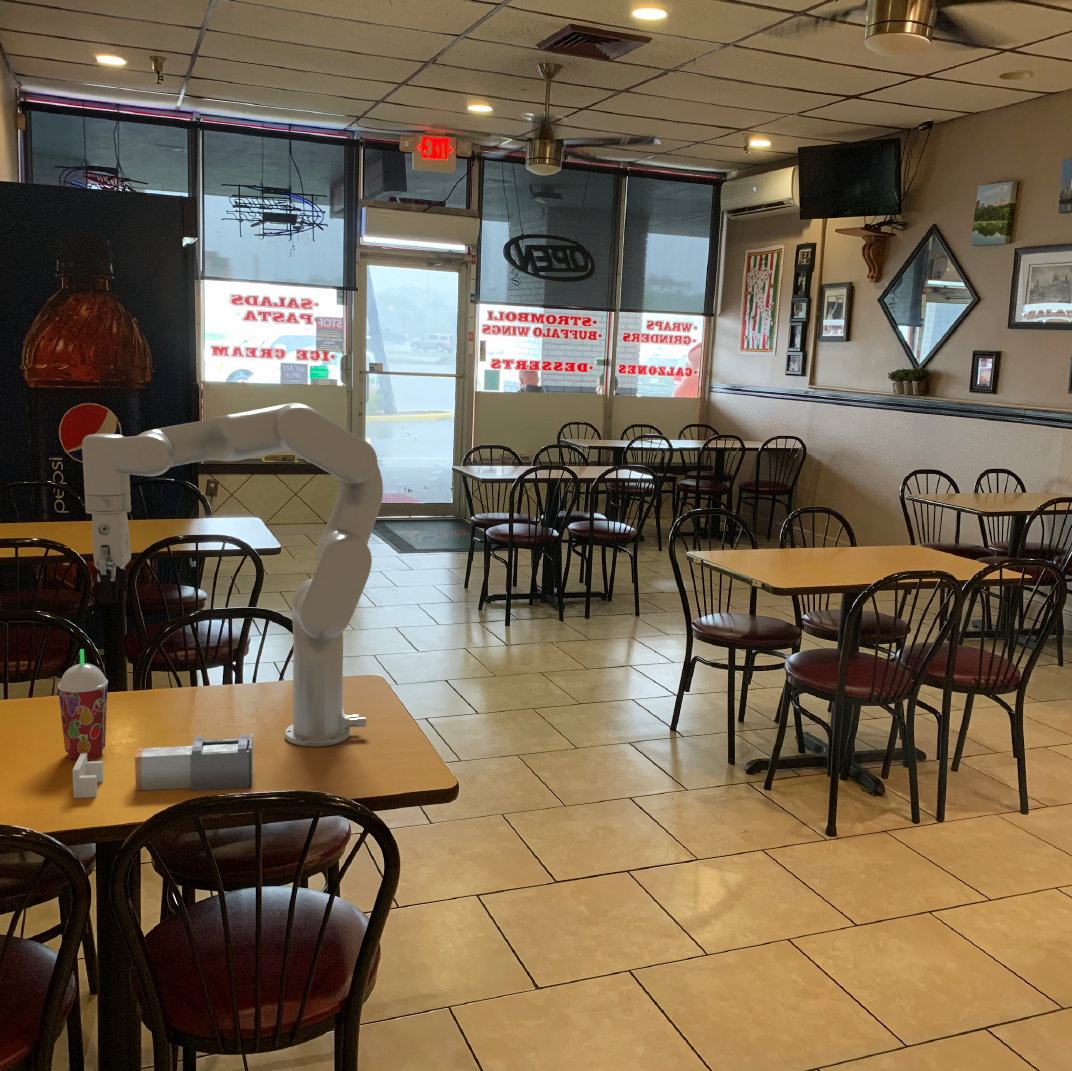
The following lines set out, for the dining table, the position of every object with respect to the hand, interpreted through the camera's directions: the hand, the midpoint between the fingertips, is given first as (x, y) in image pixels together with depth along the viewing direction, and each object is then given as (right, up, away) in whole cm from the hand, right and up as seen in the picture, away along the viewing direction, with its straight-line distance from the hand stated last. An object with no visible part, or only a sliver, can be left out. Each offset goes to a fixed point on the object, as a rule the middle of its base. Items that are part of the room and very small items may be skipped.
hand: (113, 596), depth 185 cm
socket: (+1, -32, -12) cm, 34 cm away
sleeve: (+22, -32, -6) cm, 39 cm away
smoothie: (-6, -29, +3) cm, 30 cm away
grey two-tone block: (+17, -32, -8) cm, 37 cm away
